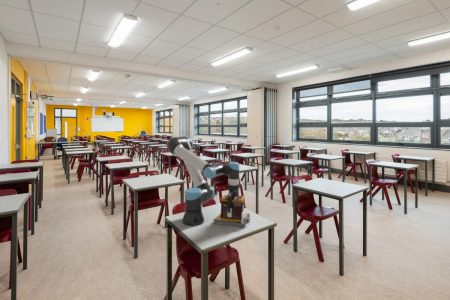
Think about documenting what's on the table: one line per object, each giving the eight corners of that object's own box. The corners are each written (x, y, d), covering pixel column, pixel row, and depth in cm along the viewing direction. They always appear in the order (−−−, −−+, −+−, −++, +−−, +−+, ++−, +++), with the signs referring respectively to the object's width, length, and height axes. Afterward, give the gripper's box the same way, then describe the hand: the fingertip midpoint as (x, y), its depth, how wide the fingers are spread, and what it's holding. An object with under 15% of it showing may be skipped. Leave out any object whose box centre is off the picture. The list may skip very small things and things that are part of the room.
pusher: (241, 225, 165) (241, 213, 164) (246, 220, 175) (246, 207, 174) (247, 226, 163) (248, 214, 162) (252, 221, 173) (252, 208, 173)
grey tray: (213, 222, 172) (213, 214, 171) (220, 216, 184) (220, 208, 183) (244, 228, 163) (244, 219, 163) (249, 221, 175) (249, 213, 174)
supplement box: (242, 222, 166) (242, 200, 165) (220, 220, 169) (220, 198, 168) (244, 216, 176) (244, 196, 175) (223, 215, 180) (223, 194, 178)
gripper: (232, 189, 157) (231, 220, 160) (243, 181, 180) (243, 208, 183) (221, 187, 160) (221, 218, 162) (234, 179, 183) (233, 207, 185)
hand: (232, 213), depth 173 cm, fingers open, 13 cm apart
